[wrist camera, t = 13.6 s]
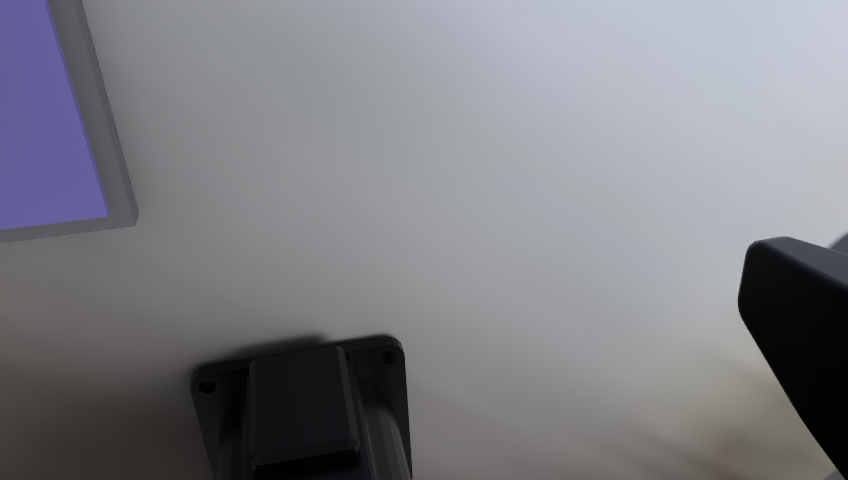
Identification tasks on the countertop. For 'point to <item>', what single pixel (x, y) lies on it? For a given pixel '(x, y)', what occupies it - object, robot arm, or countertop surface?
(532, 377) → the countertop surface
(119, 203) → the ink pad
